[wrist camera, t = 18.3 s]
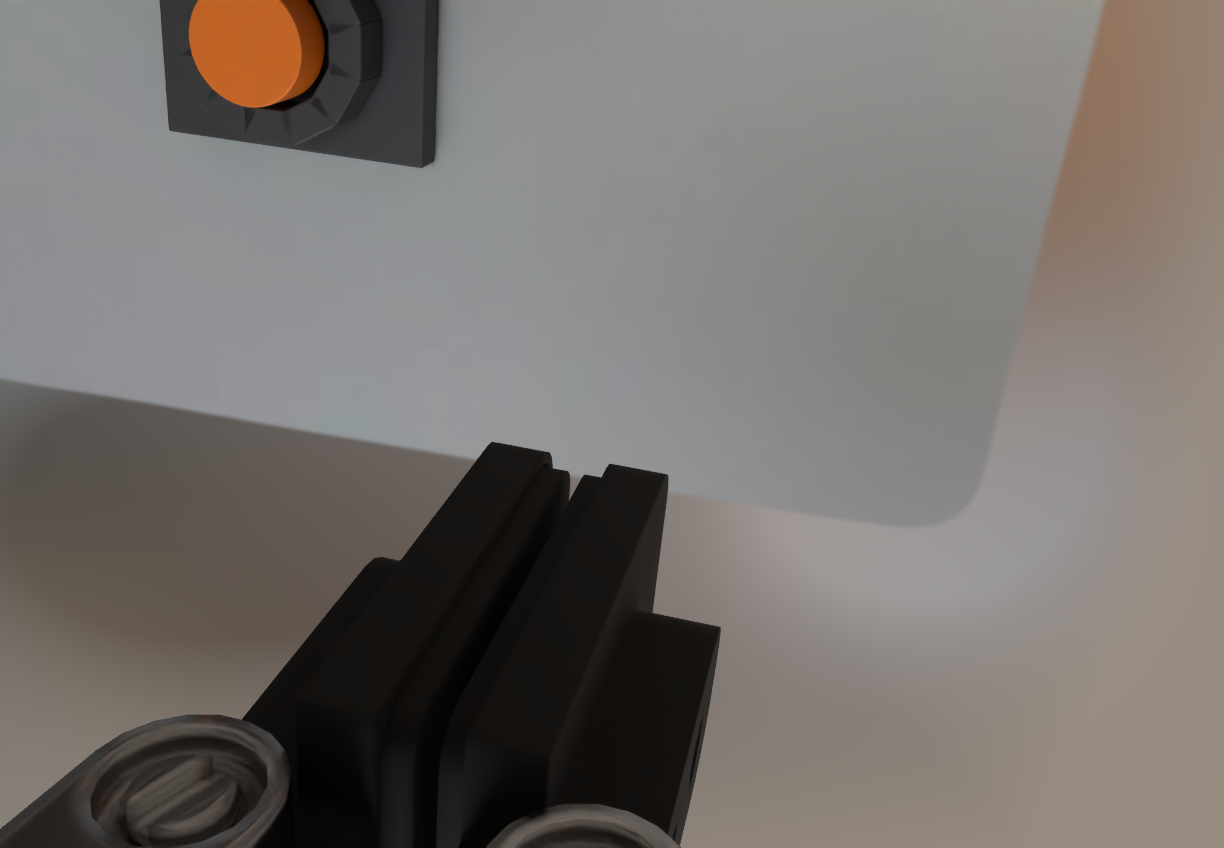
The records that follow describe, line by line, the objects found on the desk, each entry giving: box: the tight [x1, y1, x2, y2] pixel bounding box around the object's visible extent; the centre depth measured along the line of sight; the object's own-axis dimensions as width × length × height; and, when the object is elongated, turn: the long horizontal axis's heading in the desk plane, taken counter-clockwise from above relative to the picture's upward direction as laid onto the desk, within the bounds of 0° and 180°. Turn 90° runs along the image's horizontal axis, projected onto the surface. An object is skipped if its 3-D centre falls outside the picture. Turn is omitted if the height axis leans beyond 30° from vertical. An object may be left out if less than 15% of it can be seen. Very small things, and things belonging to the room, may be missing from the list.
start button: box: [189, 0, 325, 108], centre depth 38 cm, size 4×4×2 cm
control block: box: [160, 0, 438, 168], centre depth 40 cm, size 10×8×3 cm
